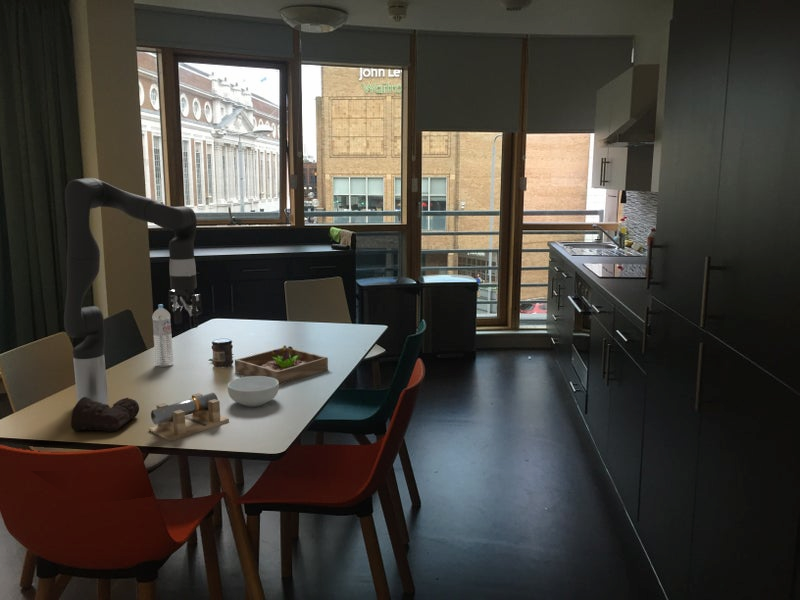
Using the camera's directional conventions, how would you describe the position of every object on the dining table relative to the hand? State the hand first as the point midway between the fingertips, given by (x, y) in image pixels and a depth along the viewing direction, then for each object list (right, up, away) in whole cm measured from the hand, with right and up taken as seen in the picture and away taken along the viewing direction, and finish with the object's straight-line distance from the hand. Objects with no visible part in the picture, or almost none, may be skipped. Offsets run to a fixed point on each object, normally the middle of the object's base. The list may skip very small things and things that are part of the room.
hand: (186, 325), depth 197 cm
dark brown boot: (-24, -31, 0) cm, 39 cm away
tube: (0, -27, -2) cm, 27 cm away
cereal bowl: (+16, -27, +20) cm, 38 cm away
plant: (+21, -21, +57) cm, 64 cm away
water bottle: (-30, -19, +64) cm, 73 cm away
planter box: (+19, -20, +56) cm, 63 cm away
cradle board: (+1, -31, -1) cm, 31 cm away
